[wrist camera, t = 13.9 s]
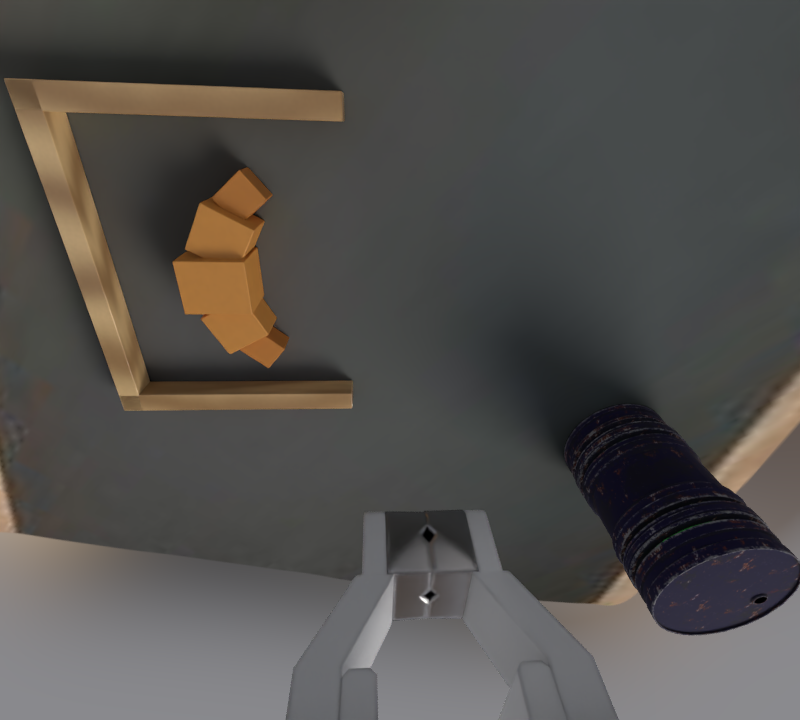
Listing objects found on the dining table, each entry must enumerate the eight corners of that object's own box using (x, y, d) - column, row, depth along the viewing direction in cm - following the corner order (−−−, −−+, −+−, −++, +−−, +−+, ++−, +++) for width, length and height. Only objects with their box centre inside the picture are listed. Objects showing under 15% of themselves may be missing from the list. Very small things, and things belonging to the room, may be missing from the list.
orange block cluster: (175, 165, 27) (149, 170, 24) (269, 167, 27) (256, 173, 24) (217, 355, 34) (200, 379, 30) (291, 355, 34) (282, 379, 31)
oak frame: (29, 81, 24) (2, 77, 22) (343, 92, 25) (341, 90, 24) (136, 396, 35) (124, 410, 33) (353, 395, 36) (352, 408, 34)
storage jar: (545, 471, 42) (622, 628, 29) (594, 392, 37) (710, 536, 24) (630, 488, 44) (738, 642, 31) (686, 414, 39) (840, 559, 26)
